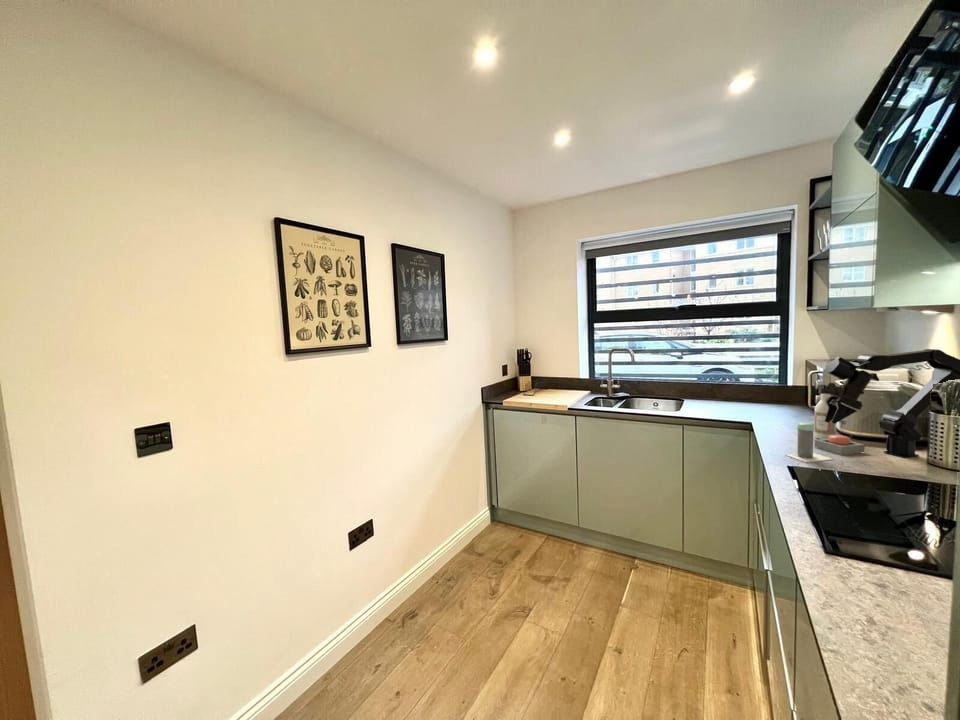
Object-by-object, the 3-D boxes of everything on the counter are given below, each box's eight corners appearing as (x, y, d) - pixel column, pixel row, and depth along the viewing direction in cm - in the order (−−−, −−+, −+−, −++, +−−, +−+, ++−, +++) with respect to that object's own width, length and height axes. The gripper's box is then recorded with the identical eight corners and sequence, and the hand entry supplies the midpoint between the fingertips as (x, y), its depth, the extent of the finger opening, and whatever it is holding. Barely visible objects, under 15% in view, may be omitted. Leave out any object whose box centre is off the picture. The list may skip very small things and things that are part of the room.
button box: (864, 452, 146) (864, 444, 146) (841, 455, 145) (841, 447, 145) (836, 445, 156) (836, 437, 156) (814, 447, 155) (814, 439, 155)
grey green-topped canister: (816, 457, 143) (816, 424, 142) (808, 459, 141) (808, 426, 140) (802, 453, 147) (802, 422, 146) (794, 455, 146) (794, 423, 145)
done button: (854, 447, 148) (854, 438, 148) (840, 448, 147) (840, 439, 147) (837, 443, 154) (837, 434, 154) (824, 444, 153) (824, 435, 153)
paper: (833, 459, 141) (833, 458, 141) (805, 462, 139) (805, 461, 139) (811, 453, 149) (811, 452, 149) (785, 455, 147) (785, 454, 147)
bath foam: (810, 437, 167) (811, 391, 166) (818, 435, 171) (819, 389, 169) (831, 441, 161) (832, 393, 160) (839, 438, 164) (840, 391, 163)
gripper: (822, 376, 156) (799, 410, 158) (836, 373, 140) (810, 411, 142) (855, 390, 151) (831, 425, 153) (874, 389, 134) (847, 428, 137)
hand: (829, 422), depth 146 cm, fingers open, 9 cm apart
